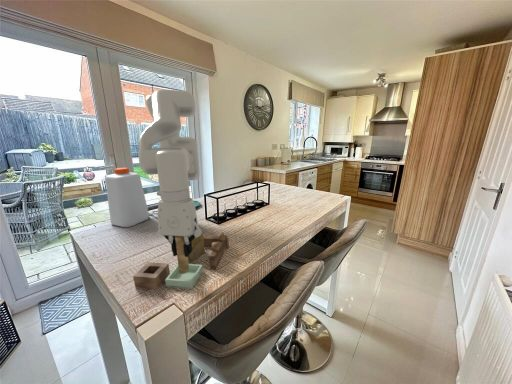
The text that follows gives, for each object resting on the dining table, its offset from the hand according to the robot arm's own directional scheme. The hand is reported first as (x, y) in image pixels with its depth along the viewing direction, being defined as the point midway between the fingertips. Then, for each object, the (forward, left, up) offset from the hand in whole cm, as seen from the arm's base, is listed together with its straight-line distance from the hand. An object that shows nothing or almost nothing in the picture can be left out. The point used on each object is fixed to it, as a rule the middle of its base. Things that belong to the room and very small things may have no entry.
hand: (182, 253), depth 63 cm
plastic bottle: (-50, +41, -9) cm, 65 cm away
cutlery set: (-34, +61, -10) cm, 70 cm away
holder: (-10, -2, -9) cm, 13 cm away
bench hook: (-3, +13, -9) cm, 16 cm away
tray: (0, 0, -9) cm, 9 cm away
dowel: (0, 0, -6) cm, 6 cm away
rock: (-3, +12, -9) cm, 15 cm away
